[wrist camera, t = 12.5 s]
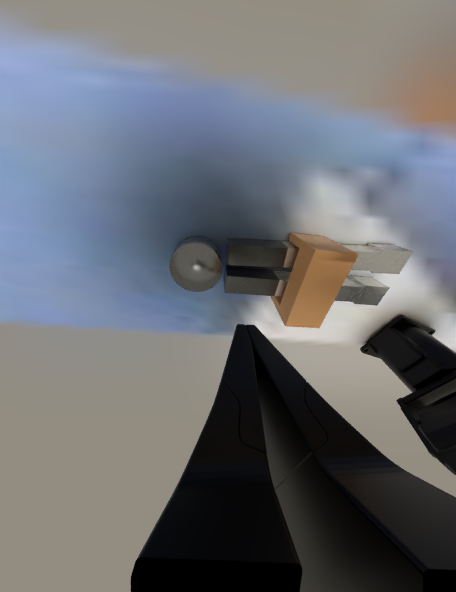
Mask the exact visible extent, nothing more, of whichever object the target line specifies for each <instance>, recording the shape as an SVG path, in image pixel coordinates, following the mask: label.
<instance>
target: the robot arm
mask: <svg viewBox="0 0 456 592" xmlns="http://www.w3.org/2000/svg"><path fill="white" fill-rule="evenodd" d="M434 333H435V330H434V329H433V328H431V327H429V326H426V325H424V324H422V323H420V322H417V321H415V320H413V319H411V318H408V317H406V316H404V315H400V316H398V317H397V318H396V319H394V320H393V321H392V322H391V323H390V324H388V325H387V326H386V327H385V328H384V329H382V330H381V331H380V332H379V333H378V334H377V335H375V336H374V337H373V338H372V339H371V340H369V341H368V342H367V343H366V344H365V345H364V346H362V347H361V348H360V350H361V351H362V352H363V353H365V354H368V355H371V356H374V357H378V358H381V359H382V360H383V361H384V362H385V364H386V365H387V366H388V367H389V368H390V369H391V370H392V371H393V372H394V373H395V374H396V375H397V376H398V377H399V379H400V380H401V381H402V382H403V383H404V384H405V385H406V386H407V387H408V388H409V389H410V390H411V391H412V392H413V393H411V394H409V395H407V396H405V397H403V398H399V399H398V400H397V402H398V404H399V405H400V407H401V410H402V411H403V413H404V414H405V416H406V417H407V419H408V420H409V422H410V424H411V425H412V427H413V428H414V430H415V431H416V433H417V434H418V436H419V437H420V439H421V440H422V442H423V443H424V445H425V446H426V448H427V450H428V451H429V453H430V454H431V455H432V456H433V457H435V458H437V459H438V460H439V461H440V462H441V463H442V464H443V465H444V466H445V467H447V469H448V470H450V471H451V472H452V473H454V474H455V475H456V353H455V352H454V351H452V350H451V349H449V348H448V347H447V346H445V345H444V344H442V343H441V342H440V341H438V340H437V339H435V338H434V337H433V336H431V335H432V334H434ZM131 592H456V497H454V496H452V495H450V494H448V493H446V492H444V491H442V490H441V489H439V488H437V487H435V486H433V485H431V484H429V483H427V482H426V481H424V480H422V479H420V478H418V477H416V476H414V475H412V474H411V473H409V472H407V471H405V470H404V469H402V468H401V467H399V466H398V465H396V464H395V463H393V462H392V461H391V460H389V459H388V458H387V457H386V456H384V455H383V454H382V453H381V452H380V451H379V450H378V449H376V448H375V447H374V446H373V445H372V444H371V443H370V442H369V441H368V440H367V439H366V438H365V437H363V436H362V435H361V434H360V433H359V432H358V431H357V430H356V429H355V428H354V427H353V426H351V424H349V423H348V422H347V421H346V420H345V419H344V418H343V417H342V416H341V415H340V414H339V413H338V412H337V411H336V410H334V409H333V408H332V407H331V406H330V405H329V404H328V403H327V402H326V401H325V400H324V399H323V398H322V397H321V396H320V395H319V394H318V393H317V392H316V391H315V389H313V387H312V386H311V385H310V384H309V383H308V382H306V380H305V379H304V378H303V377H302V376H301V375H300V373H299V372H298V371H297V370H296V369H295V368H294V367H293V366H292V365H291V364H290V363H289V362H288V361H287V360H286V358H284V356H283V355H282V354H281V353H280V352H279V351H278V350H277V349H276V348H275V347H274V346H273V345H272V343H271V342H270V341H269V340H268V339H267V338H266V337H265V336H264V335H263V334H262V333H261V332H260V331H259V329H258V328H257V327H256V326H255V325H244V324H238V325H237V326H236V330H235V333H234V337H233V340H232V344H231V347H230V351H229V354H228V358H227V361H226V365H225V368H224V372H223V375H222V379H221V382H220V385H219V388H218V392H217V395H216V398H215V401H214V404H213V406H212V409H211V411H210V414H209V416H208V419H207V421H206V424H205V426H204V428H203V430H202V432H201V435H200V437H199V439H198V441H197V444H196V446H195V448H194V450H193V453H192V455H191V457H190V459H189V462H188V464H187V466H186V468H185V470H184V472H183V474H182V477H181V479H180V481H179V483H178V484H177V487H176V488H175V490H174V492H173V494H172V496H171V498H170V500H169V501H168V503H167V505H166V507H165V509H164V511H163V512H162V514H161V516H160V518H159V520H158V522H157V523H156V525H155V527H154V529H153V531H152V533H151V534H150V536H149V538H148V540H147V542H146V543H145V545H144V547H143V549H142V551H141V552H140V554H139V556H138V558H137V560H136V562H135V565H134V569H133V572H132V576H131Z"/></svg>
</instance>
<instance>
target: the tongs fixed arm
mask: <svg viewBox="0 0 456 592" xmlns="http://www.w3.org/2000/svg"><path fill="white" fill-rule="evenodd" d="M170 272H171V275H172V277H173V279H174V280H175V282H176V283H177V284H178V285H180V286H181V287H183V288H184V289H187V290H190V291H195V292H199V291H205V290H208V289H210V288H212V287H213V286H214V285H215V284H216V283H217V282H218V281H219V279H220V276H221V272H222V267H221V256H220V252H219V250H218V248H217V246H216V245H215V244H214V243H213V242H212V241H210V240H209V239H207V238H204V237H200V236H192V237H189V238H186V239H184V240H183V241H182V242H181V243H180V244H179V245H178V247H177V248H176V250H175V252H174V254H173V256H172V258H171V260H170ZM290 275H291V272H286V271H275V270H264V269H253V268H242V267H231V266H226V267H225V275H224V290H225V292H226V293H239V294H253V295H267V296H281V297H283V295H284V292H285V289H286V286H287V283H288V280H289V277H290ZM388 289H389V287H388V286H386V285H384V284H383V283H381V282H380V281H378V280H376V279H375V278H372V277H361V276H350V277H346V279H345V281H344V283H343V285H342V287H341V289H340V290H339V292H338V294H337V296H336V298H335V301H349V302H353V303H354V304H366V305H378V303H379V302H380V300H381V299H382V298H383V296H384V295H385V293H386V292H387V291H388Z"/></svg>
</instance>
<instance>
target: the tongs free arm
mask: <svg viewBox="0 0 456 592" xmlns="http://www.w3.org/2000/svg"><path fill="white" fill-rule="evenodd" d="M340 245H342V246H344V247H346V248H348V249H350V250H352V251H354V252H356V253H358V254H359V255H358V257H357V259H356V261H355V262H354V264H353V266H352V268H351V270H368V271H370V272H372V273H390V274H399V273H400V271H401V270H402V268H403V267H404V265H405V264H406V262H407V260H408V259H409V257H410V256H411V254H412V253H413V251H410V250H408V249H405V248H402V247H399V246H396V245H389V244H370V243H369V244H368V246H364V245H345V244H340ZM298 251H299V248H298V247H297V246H296V245H294V244H293V243H292V242H288V241H268V240H249V239H230V238H228V246H227V261H228V265H237V266H263V267H290V268H293V266H294V263H295V260H296V257H297V254H298Z"/></svg>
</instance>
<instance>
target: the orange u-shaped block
mask: <svg viewBox="0 0 456 592" xmlns="http://www.w3.org/2000/svg"><path fill="white" fill-rule="evenodd" d="M289 241H291V242H292V243H293V244H294V245H296V246H297V247H298V248H299V251H298V254H297V257H296V260H295V263H294V266H293V269H292V272H291V275H290V277H289V280H288V283H287V286H286V289H285V292H284V295H283V297H281V296H271V298H272V300H273V302H274V304H275V306H276V308H277V310H278V312H279V314H280V317H281V319H282V321H283V323H284V325H285V326H292V327H311V328H320V326H321V324H322V322H323V320H324V318H325V316H326V315H327V313H328V311H329V309H330V307H331V305H332V303H333V302H334V300H335V298H336V296H337V294H338V292H339V290H340V289H341V287H342V285H343V283H344V281H345V279H346V277H347V276H348V274H349V272H350V270H351V268H352V266H353V264H354V262H355V261H356V259H357V257H358V255H359V254H358V253H356V252H354V251H352V250H350V249H348V248H346V247H344V246H342V245H340V244H338V243H336V242H334V241H332V240H330V239H328V238H326V237H324V236H316V235H307V234H299V233H290V237H289Z"/></svg>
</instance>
